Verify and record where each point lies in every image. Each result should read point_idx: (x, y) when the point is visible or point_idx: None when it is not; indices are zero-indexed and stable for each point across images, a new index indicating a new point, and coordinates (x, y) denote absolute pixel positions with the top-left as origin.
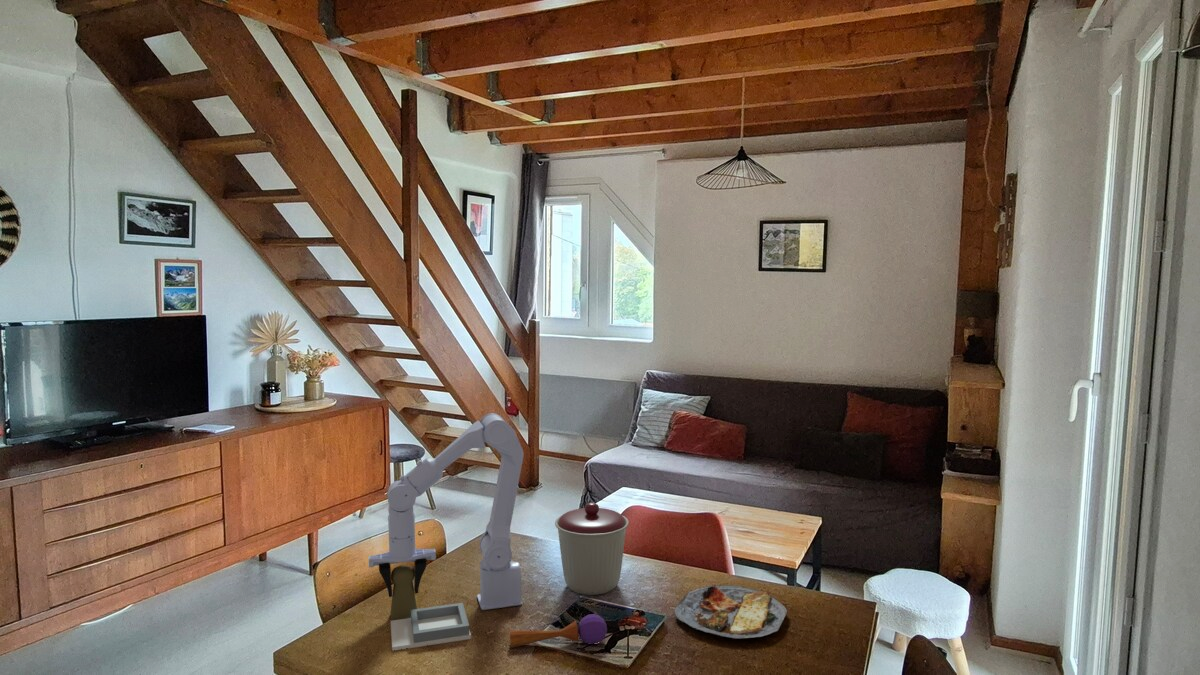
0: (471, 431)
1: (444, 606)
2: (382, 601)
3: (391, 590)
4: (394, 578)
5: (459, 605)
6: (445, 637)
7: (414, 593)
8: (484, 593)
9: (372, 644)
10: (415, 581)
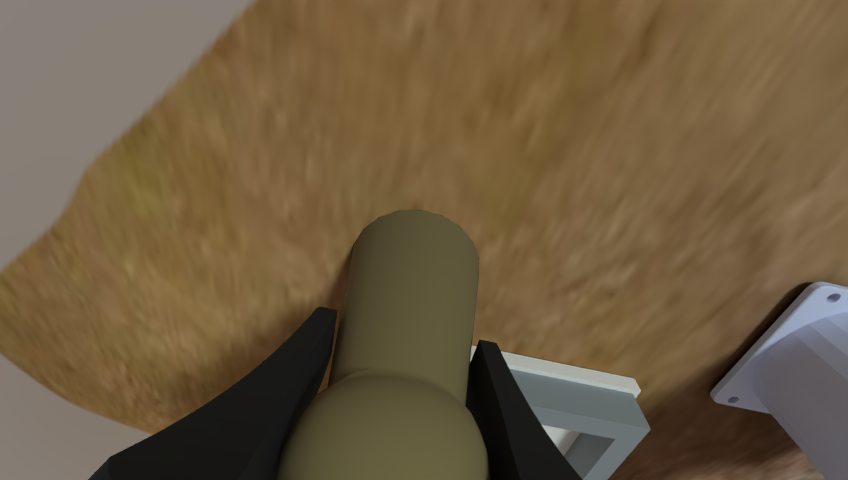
0: None
1: (563, 421)
2: (337, 45)
3: (313, 396)
4: None
5: (622, 440)
6: None
7: (471, 343)
8: (794, 428)
9: None
10: None
